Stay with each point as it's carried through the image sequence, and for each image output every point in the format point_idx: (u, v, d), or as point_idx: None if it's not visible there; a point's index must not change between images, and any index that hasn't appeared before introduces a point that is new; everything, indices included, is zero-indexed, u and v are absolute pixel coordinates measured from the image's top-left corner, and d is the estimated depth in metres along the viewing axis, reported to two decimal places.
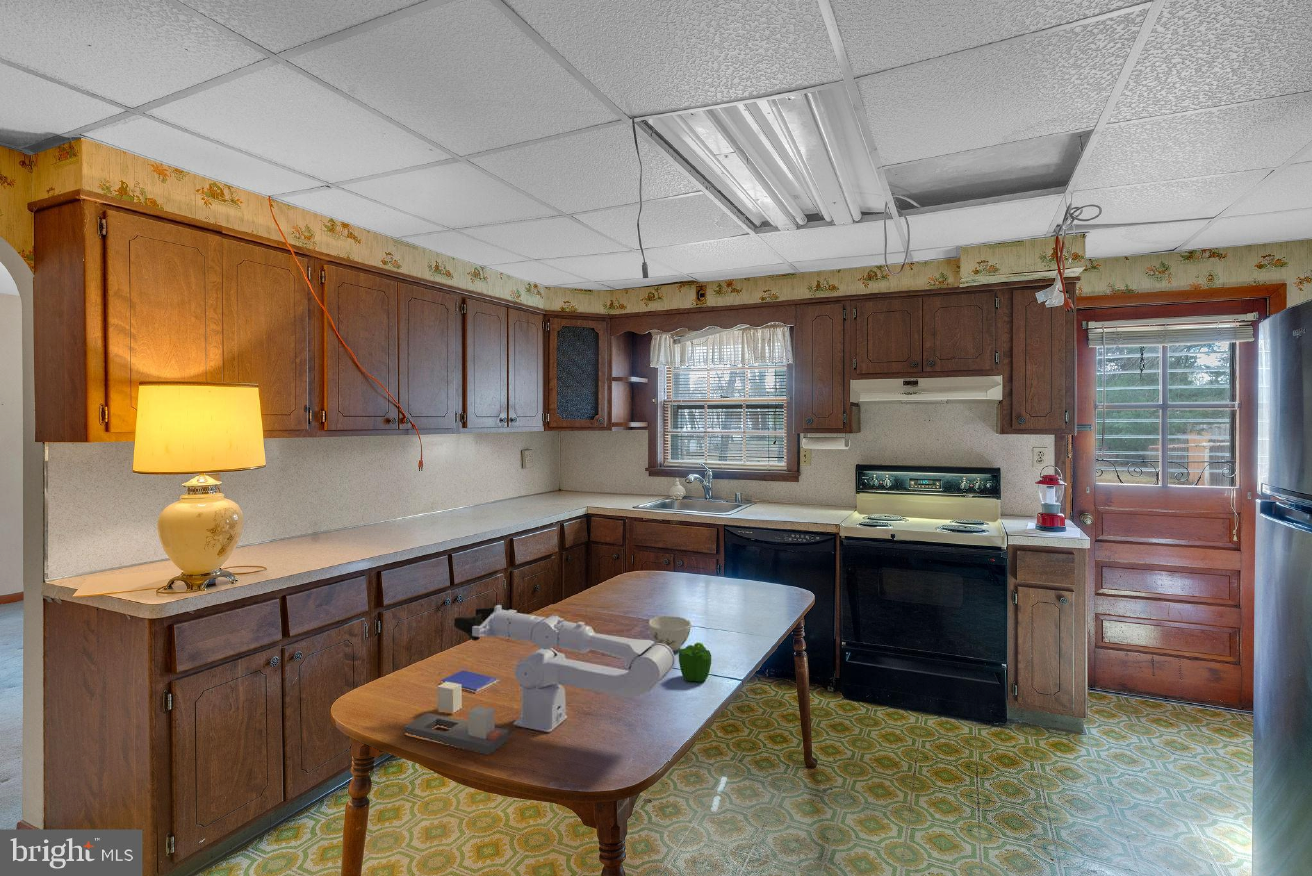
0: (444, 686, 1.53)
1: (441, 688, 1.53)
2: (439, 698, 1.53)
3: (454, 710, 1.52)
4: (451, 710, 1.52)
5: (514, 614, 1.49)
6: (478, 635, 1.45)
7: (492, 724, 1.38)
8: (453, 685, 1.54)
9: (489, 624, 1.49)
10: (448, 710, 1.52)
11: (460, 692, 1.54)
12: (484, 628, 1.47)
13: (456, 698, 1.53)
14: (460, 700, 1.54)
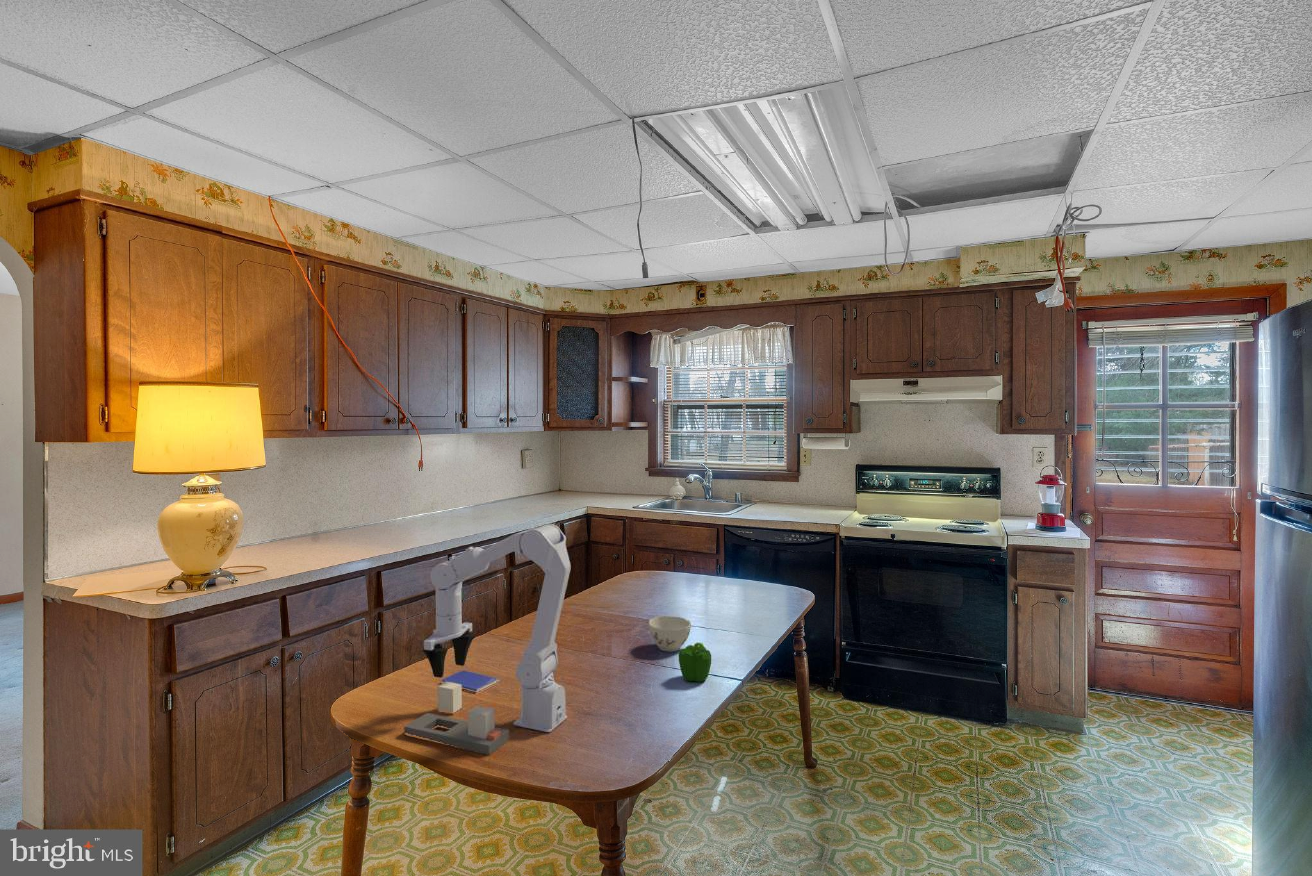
0: (444, 686, 1.53)
1: (441, 688, 1.53)
2: (439, 698, 1.53)
3: (454, 710, 1.52)
4: (451, 710, 1.52)
5: None
6: (429, 642, 1.46)
7: (492, 724, 1.38)
8: (453, 685, 1.54)
9: (437, 636, 1.51)
10: (448, 710, 1.52)
11: (460, 692, 1.54)
12: None
13: (456, 698, 1.53)
14: (460, 700, 1.54)
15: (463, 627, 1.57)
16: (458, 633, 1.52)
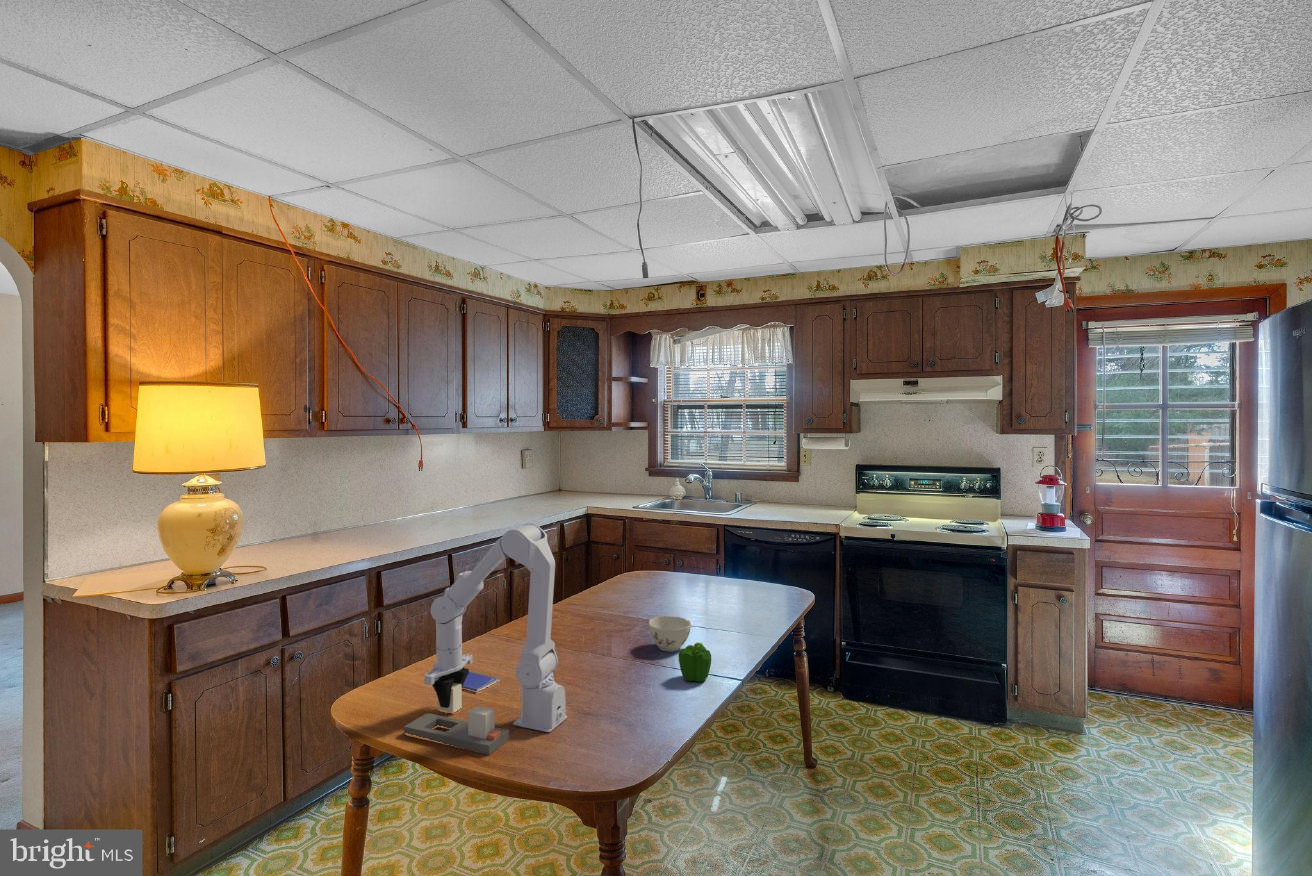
0: None
1: None
2: None
3: (454, 710, 1.52)
4: (451, 710, 1.52)
5: None
6: (430, 677, 1.47)
7: (492, 724, 1.38)
8: (453, 685, 1.54)
9: (438, 670, 1.51)
10: (448, 710, 1.52)
11: (460, 692, 1.54)
12: None
13: (456, 698, 1.53)
14: (460, 700, 1.54)
15: (463, 659, 1.57)
16: (458, 666, 1.52)
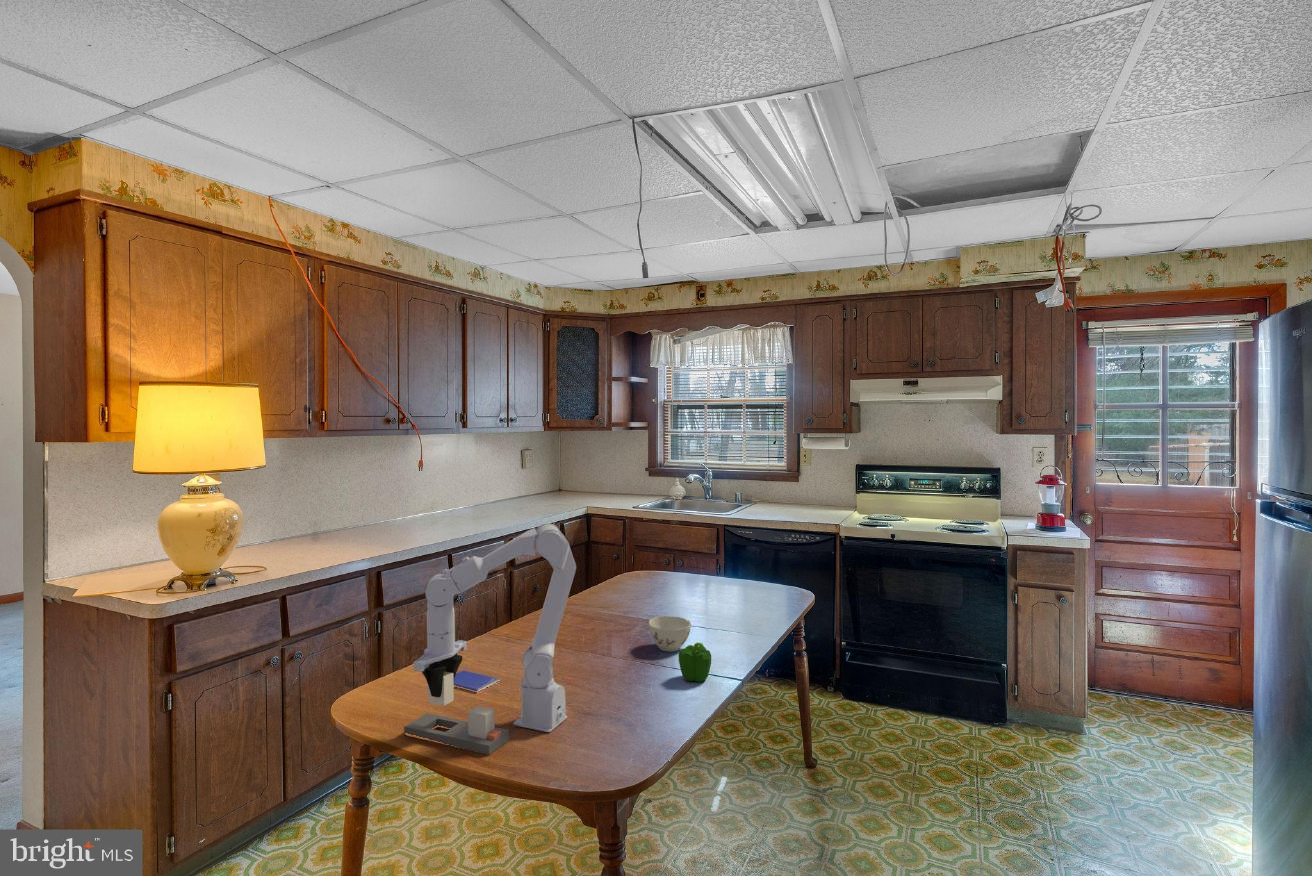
0: None
1: None
2: None
3: (445, 700, 1.41)
4: (442, 700, 1.41)
5: None
6: (419, 664, 1.36)
7: (492, 724, 1.38)
8: (444, 674, 1.43)
9: (429, 657, 1.40)
10: (439, 700, 1.42)
11: (452, 682, 1.43)
12: None
13: (447, 688, 1.42)
14: (452, 690, 1.43)
15: (457, 646, 1.47)
16: (451, 653, 1.42)
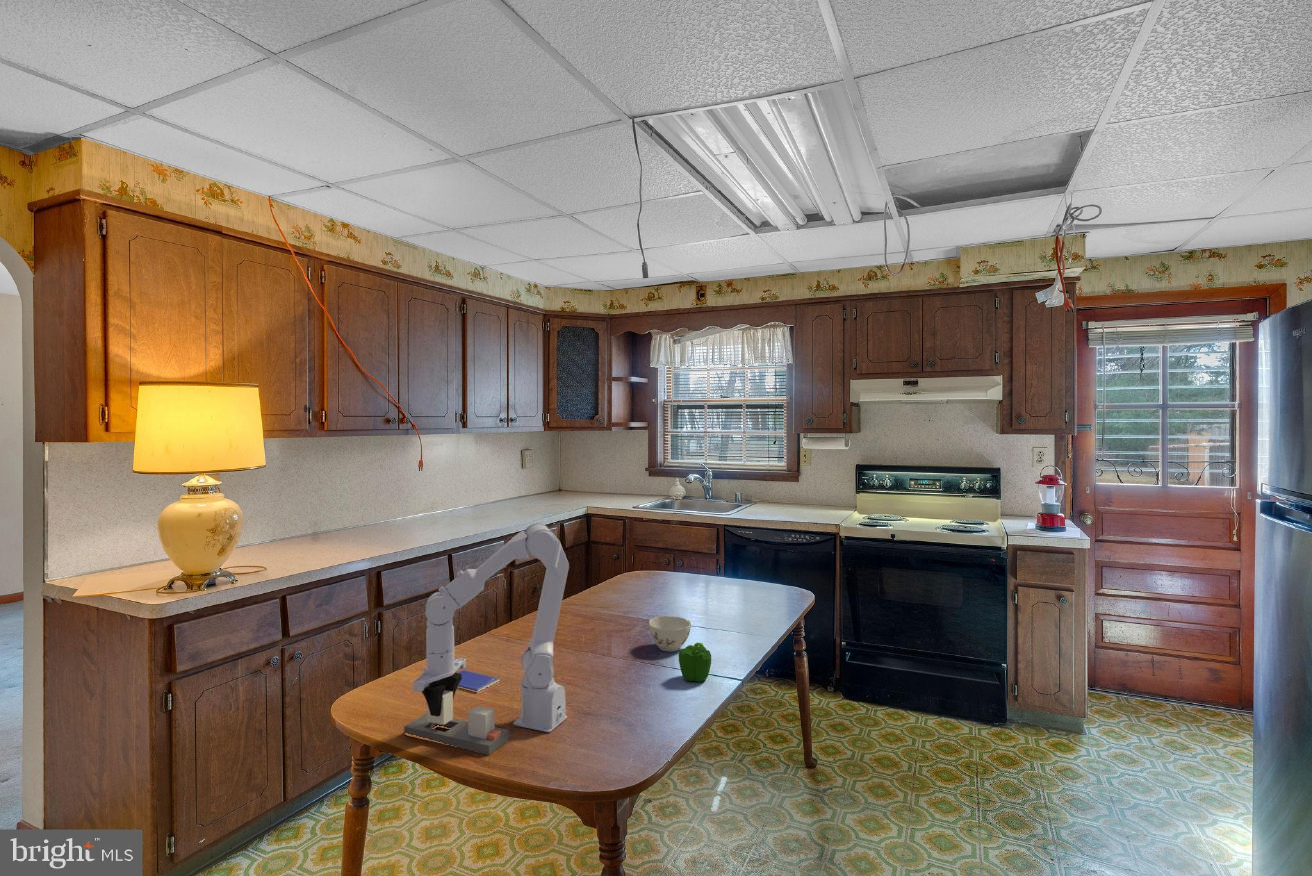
0: None
1: None
2: None
3: (444, 719, 1.41)
4: (441, 719, 1.40)
5: None
6: (419, 683, 1.35)
7: (492, 724, 1.38)
8: (443, 692, 1.42)
9: (428, 676, 1.39)
10: (438, 719, 1.41)
11: (451, 700, 1.43)
12: None
13: (447, 706, 1.41)
14: (451, 709, 1.43)
15: (456, 664, 1.46)
16: (450, 672, 1.41)
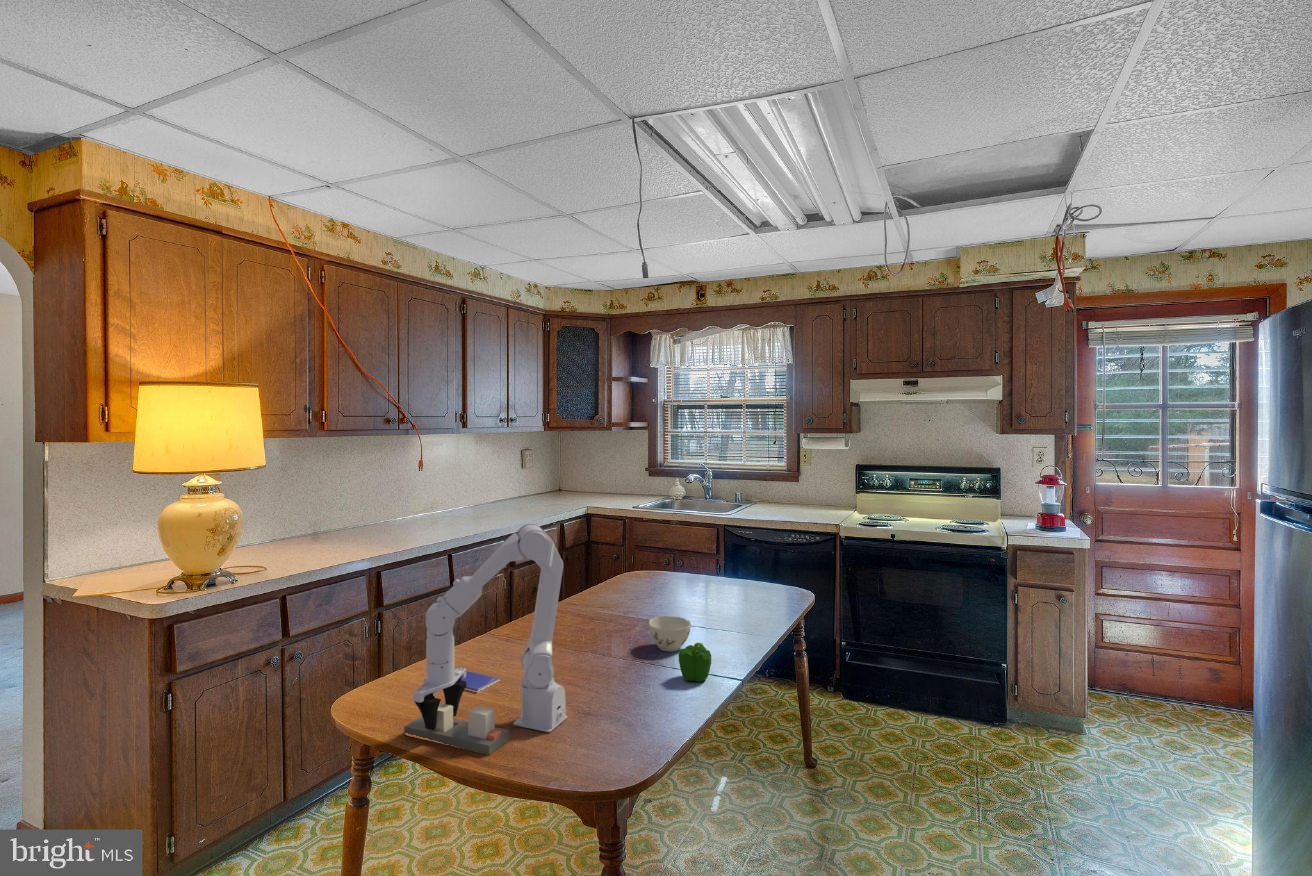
0: None
1: None
2: None
3: None
4: None
5: None
6: (419, 694, 1.35)
7: (492, 724, 1.38)
8: (443, 707, 1.42)
9: None
10: None
11: (452, 715, 1.43)
12: None
13: (447, 721, 1.41)
14: (451, 723, 1.43)
15: (456, 674, 1.46)
16: (450, 682, 1.41)
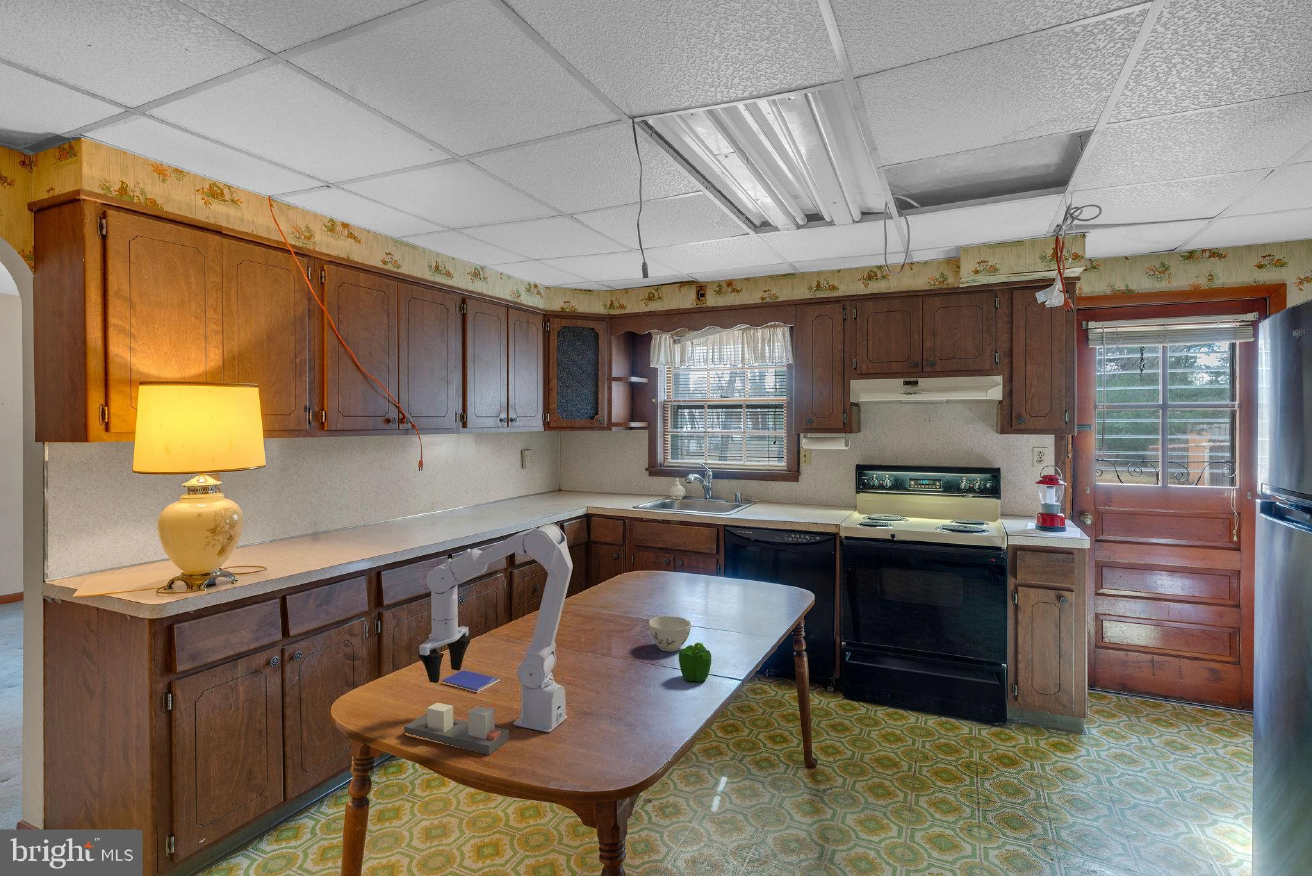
0: (434, 708, 1.42)
1: (431, 710, 1.41)
2: (428, 720, 1.42)
3: None
4: None
5: None
6: (425, 647, 1.44)
7: (492, 724, 1.38)
8: (443, 707, 1.42)
9: None
10: None
11: (452, 715, 1.43)
12: None
13: (447, 721, 1.41)
14: (451, 723, 1.43)
15: (459, 631, 1.55)
16: (454, 637, 1.49)
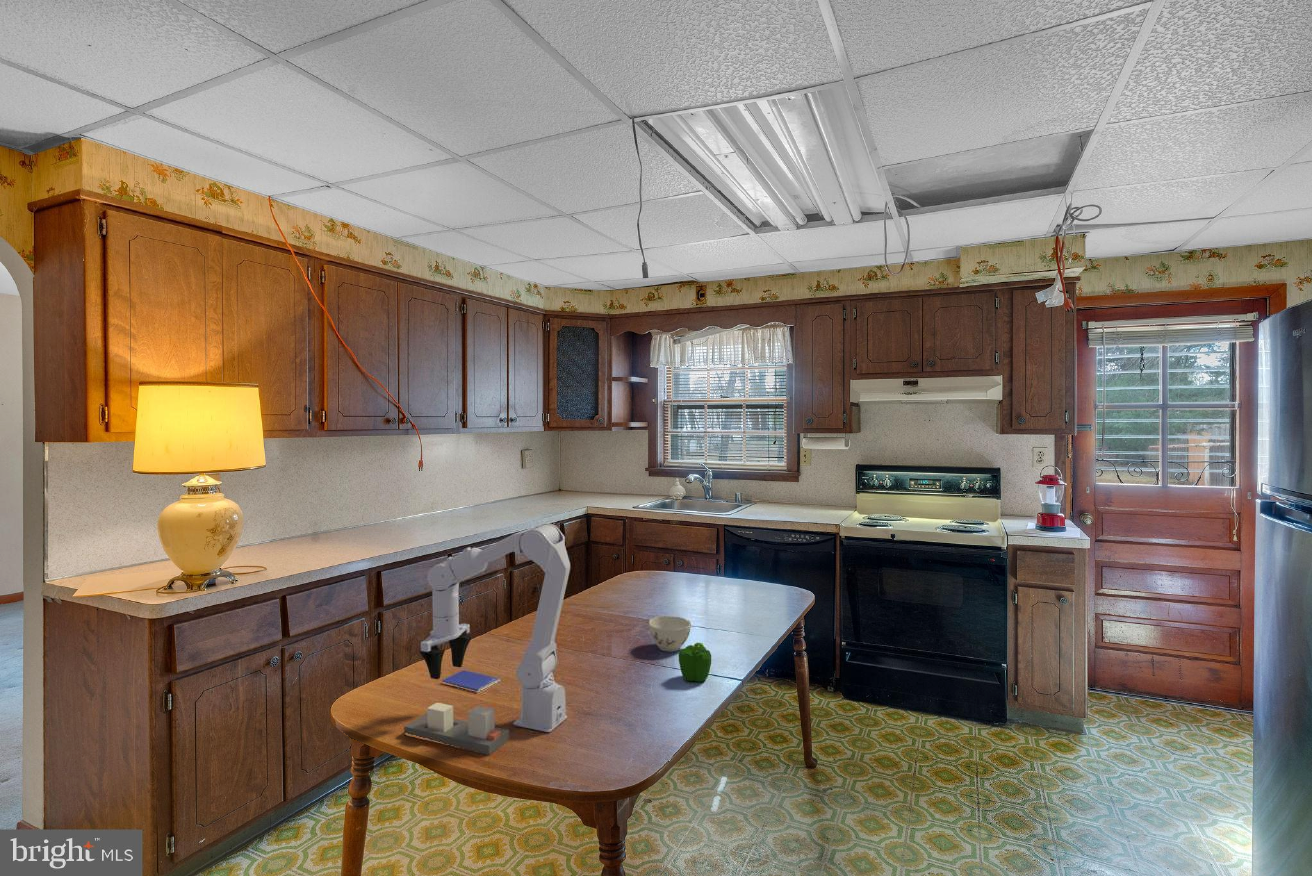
0: (434, 708, 1.42)
1: (431, 710, 1.41)
2: (428, 720, 1.42)
3: None
4: None
5: None
6: (426, 644, 1.46)
7: (492, 724, 1.38)
8: (443, 707, 1.42)
9: (434, 638, 1.50)
10: None
11: (452, 715, 1.43)
12: None
13: (447, 721, 1.41)
14: (451, 723, 1.43)
15: (460, 628, 1.56)
16: (455, 634, 1.51)
